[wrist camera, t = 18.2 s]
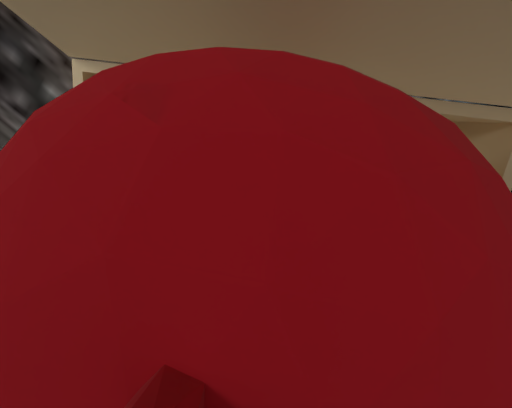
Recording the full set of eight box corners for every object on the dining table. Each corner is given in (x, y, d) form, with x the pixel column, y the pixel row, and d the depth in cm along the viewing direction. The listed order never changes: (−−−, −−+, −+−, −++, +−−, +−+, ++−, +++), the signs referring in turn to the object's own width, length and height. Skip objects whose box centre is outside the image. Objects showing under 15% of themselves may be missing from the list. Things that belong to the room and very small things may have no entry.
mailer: (134, 282, 24) (83, 333, 18) (137, 76, 20) (71, 58, 14) (400, 330, 22) (436, 404, 16) (464, 114, 18) (542, 111, 12)
